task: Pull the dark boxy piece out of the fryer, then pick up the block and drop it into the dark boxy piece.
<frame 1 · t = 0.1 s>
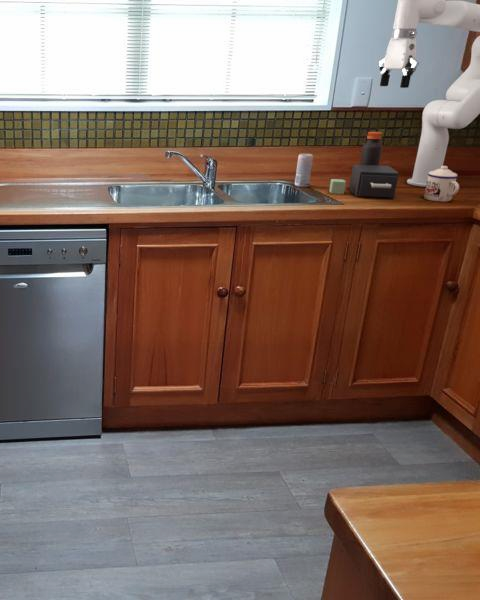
hand: (393, 86, 218), 37 cm above the table, tool pointing down, fingers open, 9 cm apart
energy drink: (301, 186, 236), on the table
fryer: (370, 193, 224), on the table
bottle: (365, 185, 238), on the table
teacup with lid: (440, 200, 214), on the table
block: (336, 192, 225), on the table
dark boxy piece: (375, 183, 218), point 5 cm above the table, slide at 0.5 cm
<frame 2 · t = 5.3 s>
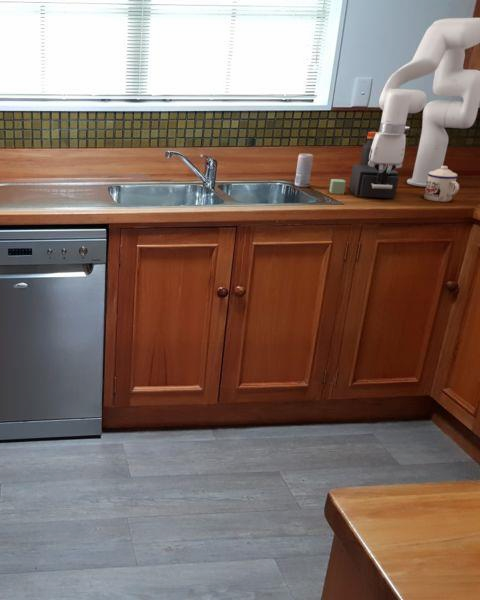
hand: (381, 184, 210), 6 cm above the table, tool pointing down, fingers closed
dark boxy piece: (376, 184, 217), point 5 cm above the table, slide at 1.8 cm, touching gripper
everything else where it was.
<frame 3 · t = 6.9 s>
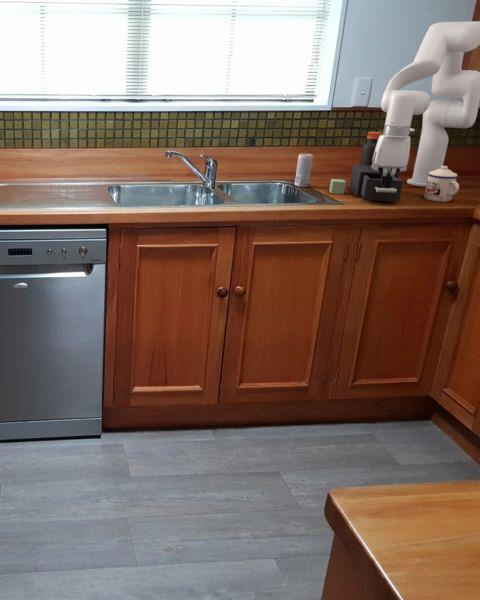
hand: (384, 187, 205), 6 cm above the table, tool pointing down, fingers closed
dark boxy piece: (380, 187, 211), point 5 cm above the table, slide at 7.7 cm, touching gripper
everything else where it was.
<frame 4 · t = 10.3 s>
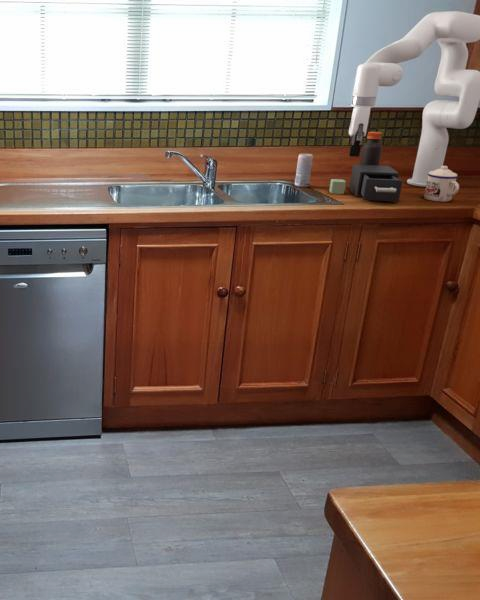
hand: (354, 156, 215), 14 cm above the table, tool pointing down, fingers closed
dark boxy piece: (379, 187, 212), point 5 cm above the table, slide at 7.4 cm
everything else where it was.
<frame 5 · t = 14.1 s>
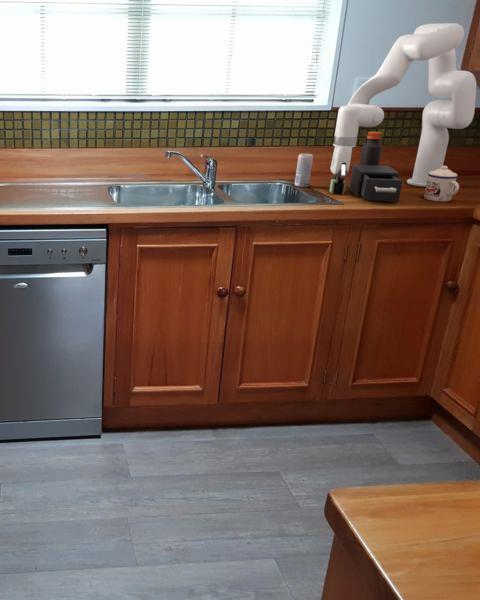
hand: (336, 191, 225), 0 cm above the table, tool pointing down, fingers closed on block, 4 cm apart
block: (336, 192, 225), on the table, touching gripper
everything else where it was.
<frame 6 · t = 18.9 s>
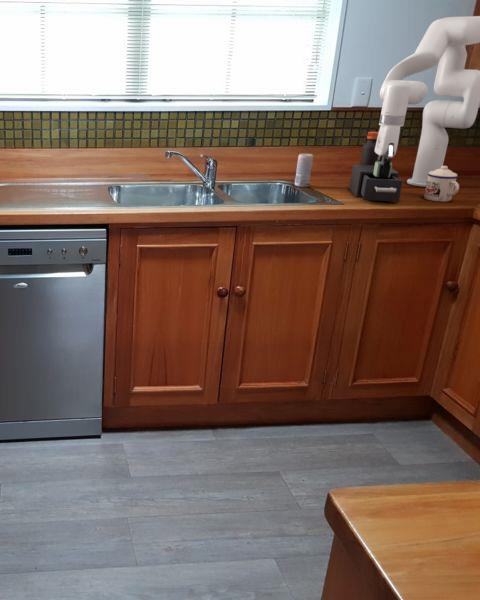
hand: (381, 174, 211), 9 cm above the table, tool pointing down, fingers closed on block, 4 cm apart
block: (381, 175, 211), point 9 cm above the table, touching gripper
everything else where it was.
when the fingers open (10 cm above the table, at t = 25.5 s): block drops 8 cm, resting on dark boxy piece.
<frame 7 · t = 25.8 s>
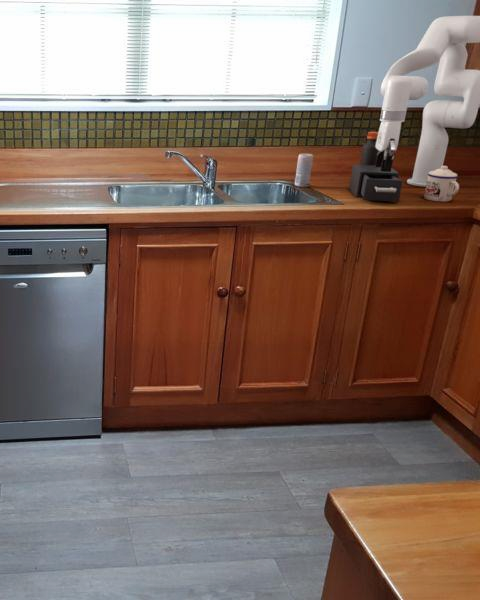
hand: (382, 169, 210), 11 cm above the table, tool pointing down, fingers open, 7 cm apart
block: (377, 194, 214), point 2 cm above the table, touching dark boxy piece
dark boxy piece: (379, 187, 212), point 5 cm above the table, slide at 7.4 cm, touching block
everything else where it was.
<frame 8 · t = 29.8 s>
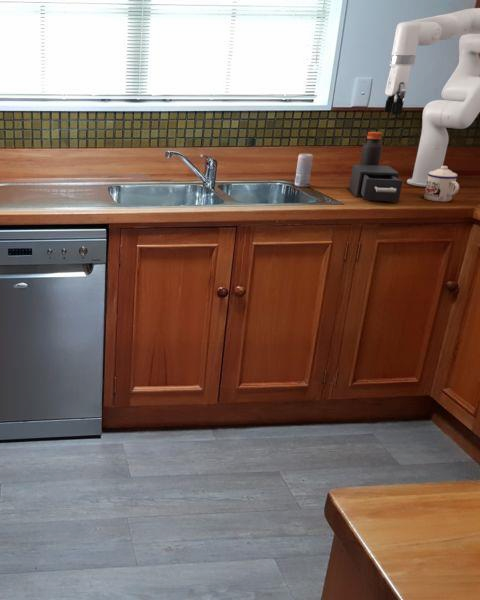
hand: (392, 113, 215), 28 cm above the table, tool pointing down, fingers open, 9 cm apart
nothing on the table moved.
at the end: dark boxy piece slide at 7.4 cm; block inside the target area in the dark boxy piece (0.8 cm from its centre), point 2.0 cm above the fryer's base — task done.
